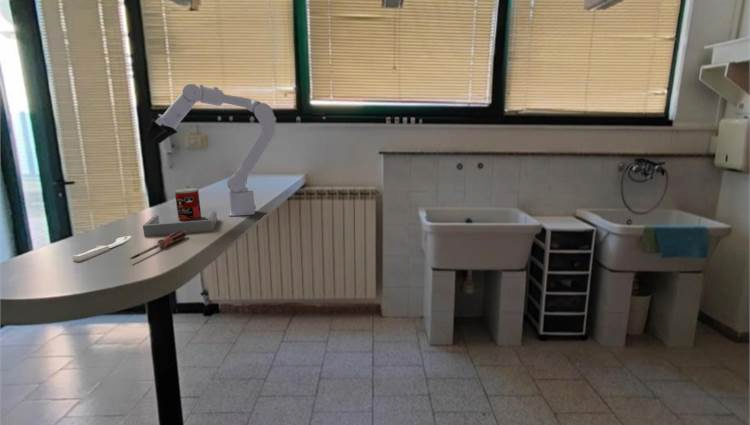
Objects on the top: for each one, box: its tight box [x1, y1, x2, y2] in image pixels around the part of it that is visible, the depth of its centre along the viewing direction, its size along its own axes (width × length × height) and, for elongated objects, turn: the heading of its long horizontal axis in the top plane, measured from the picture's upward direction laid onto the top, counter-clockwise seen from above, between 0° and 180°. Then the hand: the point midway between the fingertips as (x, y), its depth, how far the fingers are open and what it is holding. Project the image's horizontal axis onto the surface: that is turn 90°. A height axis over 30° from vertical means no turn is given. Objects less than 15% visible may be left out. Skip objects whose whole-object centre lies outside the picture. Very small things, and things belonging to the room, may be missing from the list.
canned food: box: [174, 187, 202, 222], centre depth 151 cm, size 8×8×11 cm
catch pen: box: [142, 210, 218, 237], centre depth 139 cm, size 20×15×4 cm
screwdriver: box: [129, 230, 187, 260], centre depth 116 cm, size 25×3×3 cm, turn 174°
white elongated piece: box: [72, 235, 132, 263], centre depth 121 cm, size 30×2×8 cm
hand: (152, 140), depth 147 cm, fingers open, 7 cm apart
